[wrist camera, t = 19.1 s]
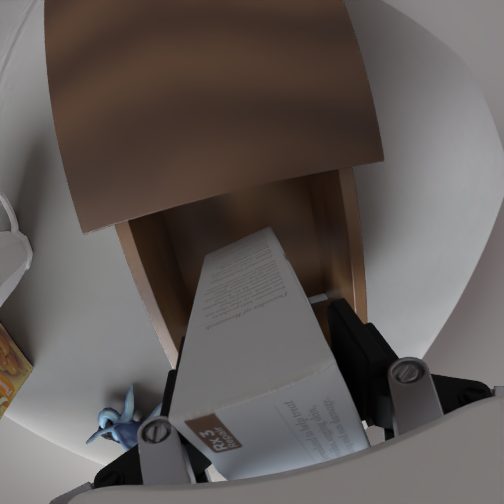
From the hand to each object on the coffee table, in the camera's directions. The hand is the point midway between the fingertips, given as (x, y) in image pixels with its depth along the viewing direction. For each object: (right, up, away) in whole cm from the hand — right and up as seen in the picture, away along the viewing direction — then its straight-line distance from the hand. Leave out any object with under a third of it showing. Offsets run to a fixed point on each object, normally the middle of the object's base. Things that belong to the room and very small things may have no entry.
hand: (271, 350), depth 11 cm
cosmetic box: (-1, +2, +7) cm, 7 cm away
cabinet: (-4, +17, +8) cm, 19 cm away
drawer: (-1, +2, +13) cm, 13 cm away
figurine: (-15, -16, +19) cm, 29 cm away
